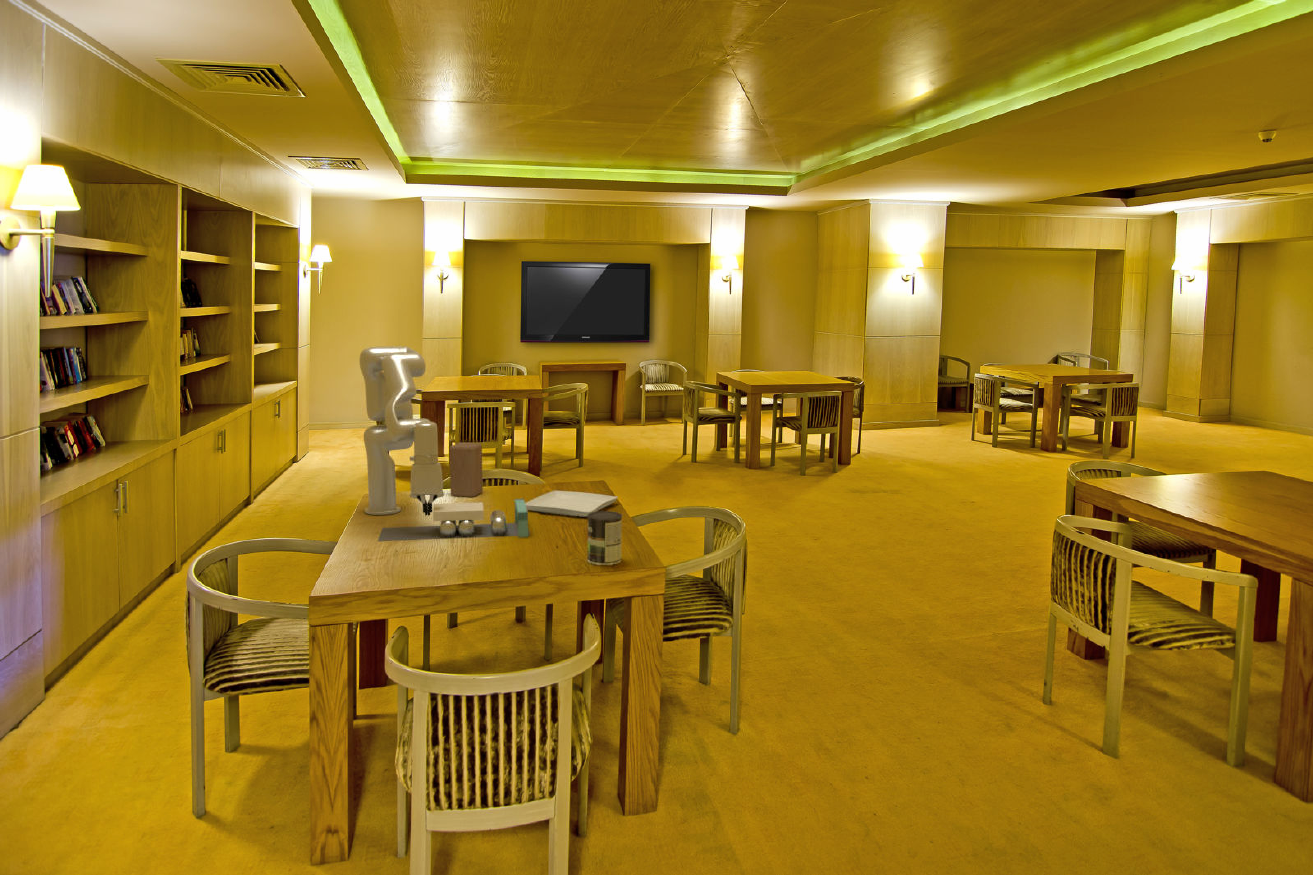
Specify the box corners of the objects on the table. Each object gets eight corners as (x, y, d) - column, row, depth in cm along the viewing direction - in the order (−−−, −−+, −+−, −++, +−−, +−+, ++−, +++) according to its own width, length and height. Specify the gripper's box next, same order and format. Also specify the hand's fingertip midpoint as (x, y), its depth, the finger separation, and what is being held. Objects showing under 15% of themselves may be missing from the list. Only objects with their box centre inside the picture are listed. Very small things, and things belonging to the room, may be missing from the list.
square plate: (521, 513, 336) (521, 503, 336) (554, 498, 362) (554, 489, 361) (589, 521, 327) (589, 510, 326) (618, 505, 352) (619, 495, 352)
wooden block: (473, 497, 360) (472, 447, 357) (449, 496, 362) (448, 446, 359) (483, 492, 369) (482, 443, 366) (460, 491, 371) (459, 442, 368)
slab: (434, 512, 310) (434, 503, 310) (482, 511, 313) (482, 502, 313) (433, 521, 299) (433, 512, 298) (483, 519, 302) (483, 510, 301)
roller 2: (460, 526, 315) (457, 512, 314) (474, 523, 316) (472, 509, 315) (459, 538, 299) (457, 523, 298) (475, 535, 300) (472, 520, 299)
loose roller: (489, 523, 317) (491, 509, 316) (504, 524, 318) (505, 510, 317) (490, 535, 301) (492, 520, 300) (506, 536, 302) (508, 521, 302)
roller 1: (440, 512, 313) (455, 510, 314) (441, 526, 313) (456, 525, 314) (439, 523, 297) (455, 522, 298) (440, 538, 298) (456, 537, 299)
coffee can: (587, 566, 271) (587, 519, 269) (587, 556, 282) (587, 511, 279) (622, 565, 272) (622, 519, 270) (620, 555, 282) (621, 510, 280)
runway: (382, 527, 312) (382, 503, 311) (526, 522, 322) (525, 498, 320) (377, 544, 292) (376, 517, 290) (530, 538, 301) (530, 512, 300)
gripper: (401, 462, 296) (403, 518, 299) (449, 461, 299) (450, 516, 302) (403, 458, 303) (404, 512, 306) (450, 457, 306) (451, 511, 309)
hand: (427, 514), depth 304 cm, fingers closed
